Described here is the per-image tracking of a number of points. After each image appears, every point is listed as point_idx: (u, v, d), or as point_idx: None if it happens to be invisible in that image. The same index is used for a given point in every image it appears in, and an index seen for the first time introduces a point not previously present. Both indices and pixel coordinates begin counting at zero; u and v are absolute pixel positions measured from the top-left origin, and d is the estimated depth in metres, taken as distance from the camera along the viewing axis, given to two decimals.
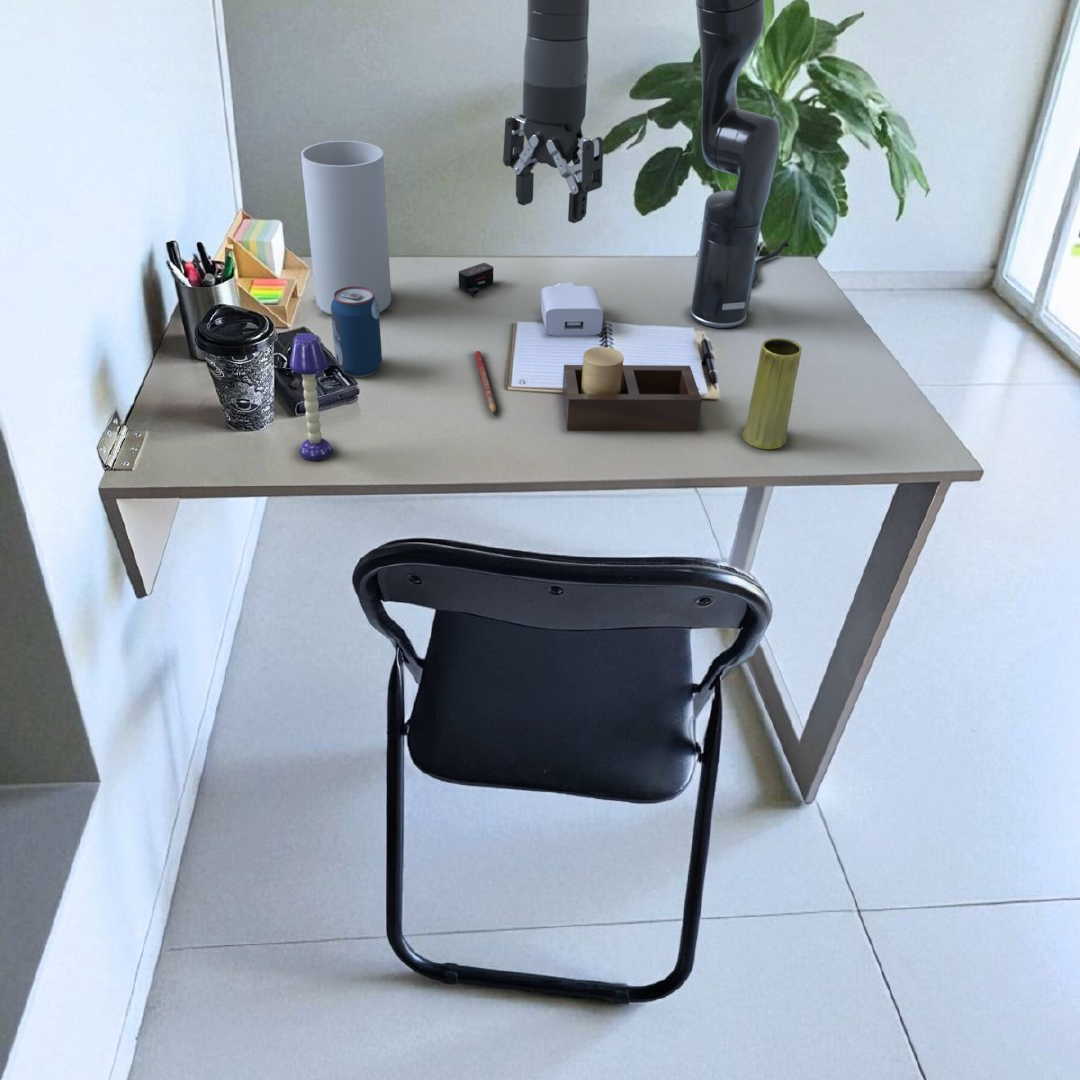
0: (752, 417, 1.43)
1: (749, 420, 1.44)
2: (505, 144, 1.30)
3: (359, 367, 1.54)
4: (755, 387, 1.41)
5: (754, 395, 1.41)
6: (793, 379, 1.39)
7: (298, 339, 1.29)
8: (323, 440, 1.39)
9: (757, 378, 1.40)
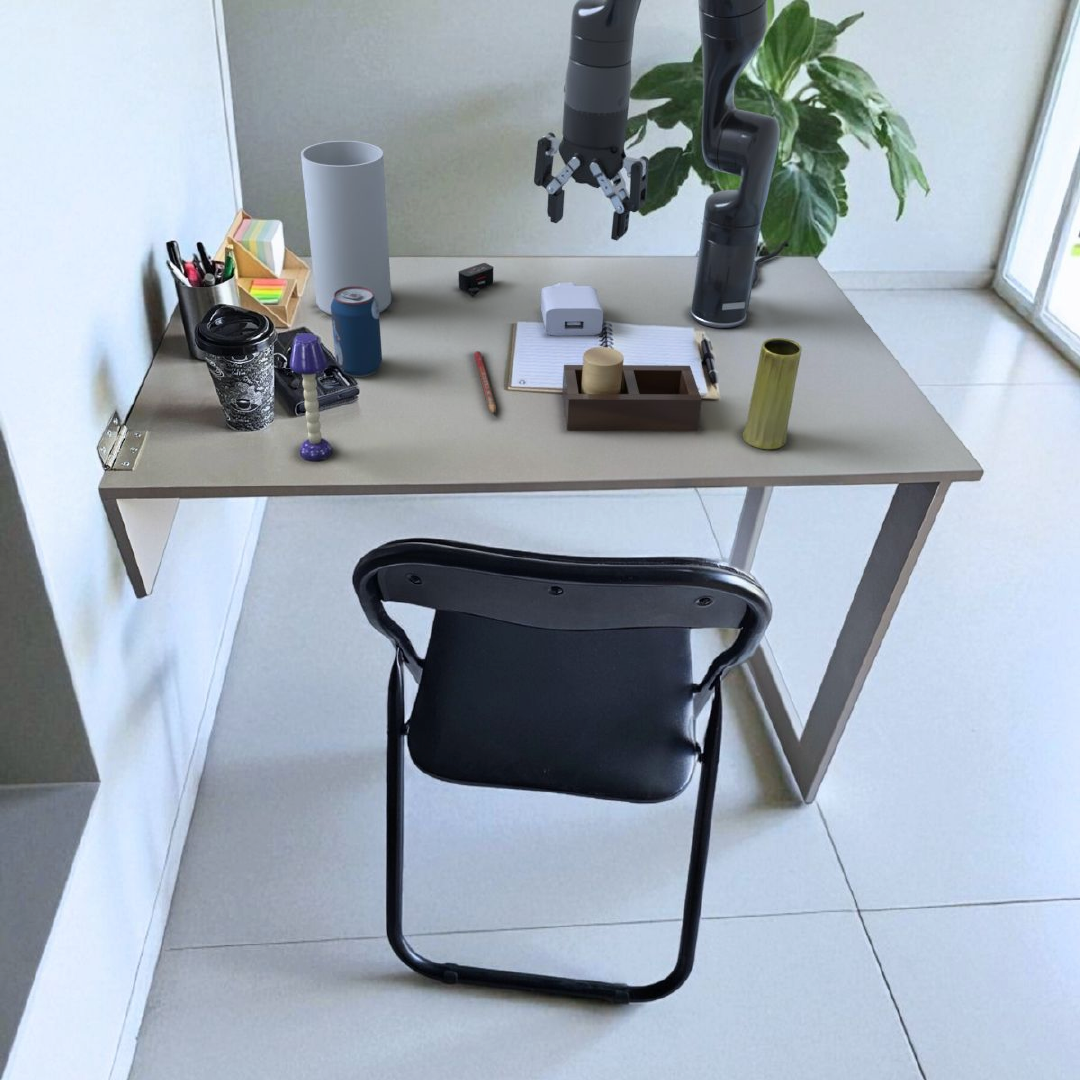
0: (752, 417, 1.43)
1: (749, 420, 1.44)
2: (537, 164, 1.28)
3: (359, 367, 1.54)
4: (755, 387, 1.41)
5: (754, 395, 1.41)
6: (793, 379, 1.39)
7: (298, 339, 1.29)
8: (323, 440, 1.39)
9: (757, 378, 1.40)
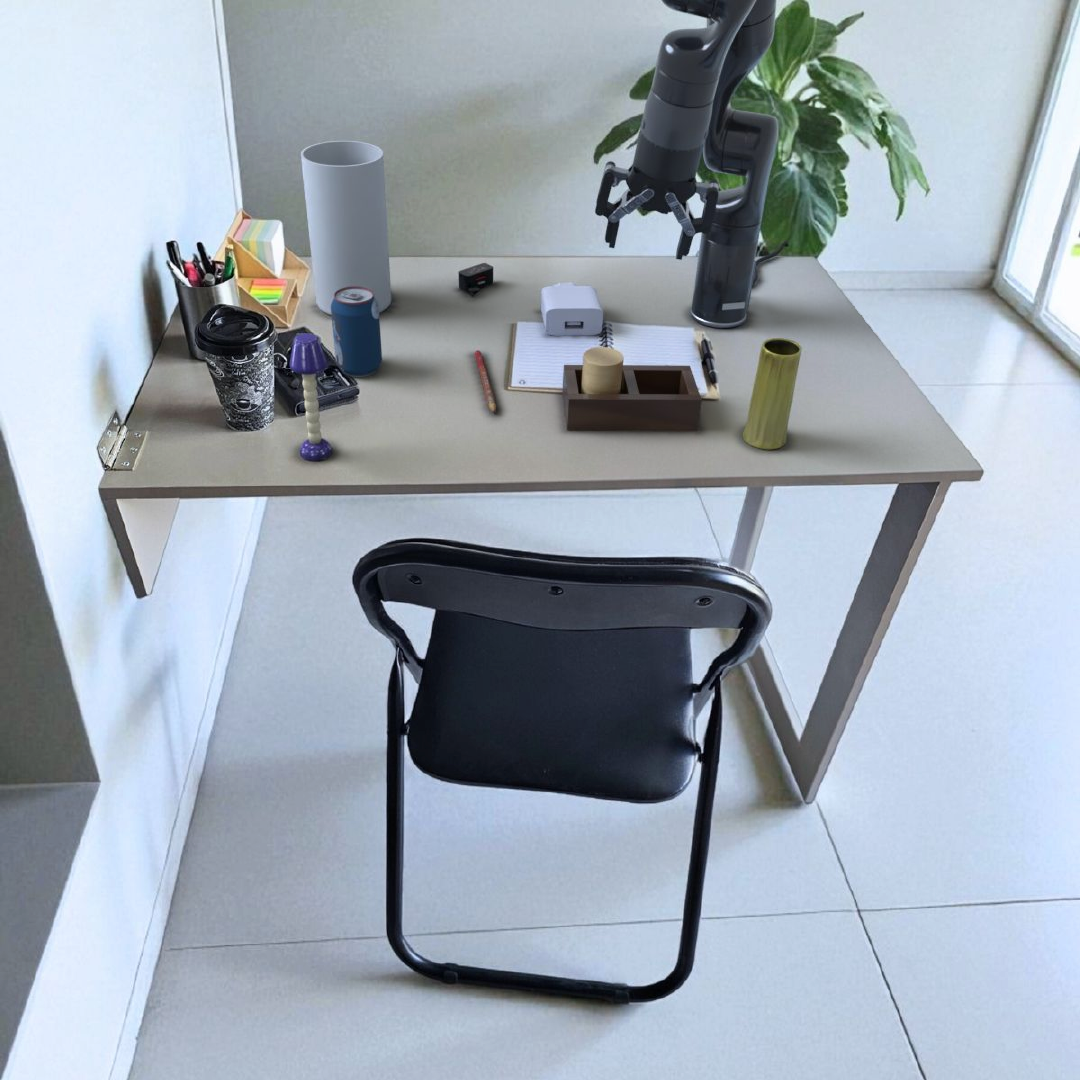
0: (752, 417, 1.43)
1: (749, 420, 1.44)
2: (601, 196, 1.25)
3: (359, 367, 1.54)
4: (755, 387, 1.41)
5: (754, 395, 1.41)
6: (793, 379, 1.39)
7: (298, 339, 1.29)
8: (323, 440, 1.39)
9: (757, 378, 1.40)
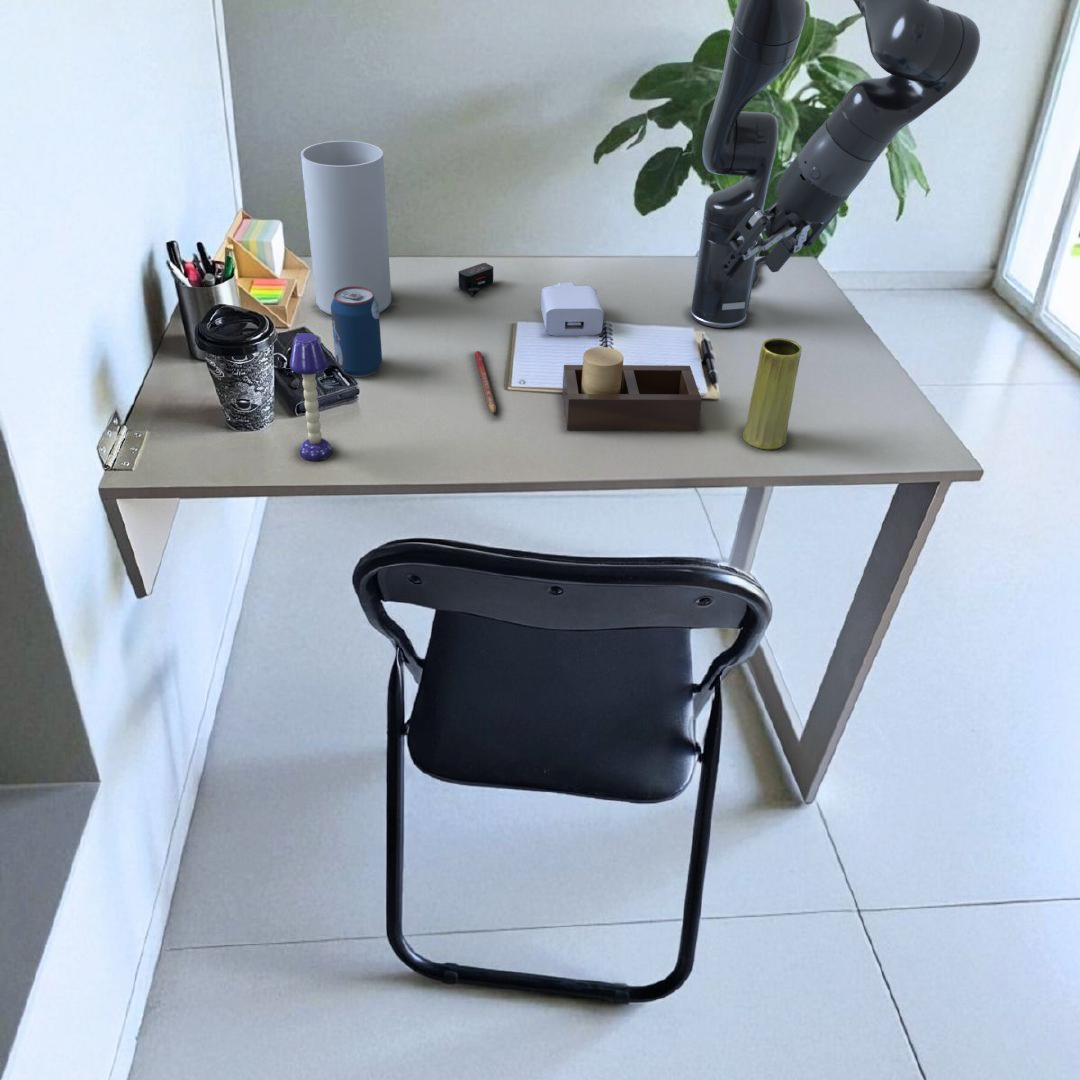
0: (752, 417, 1.43)
1: (749, 420, 1.44)
2: (749, 241, 1.21)
3: (359, 367, 1.54)
4: (755, 387, 1.41)
5: (754, 395, 1.41)
6: (793, 379, 1.39)
7: (298, 339, 1.29)
8: (323, 440, 1.39)
9: (757, 378, 1.40)
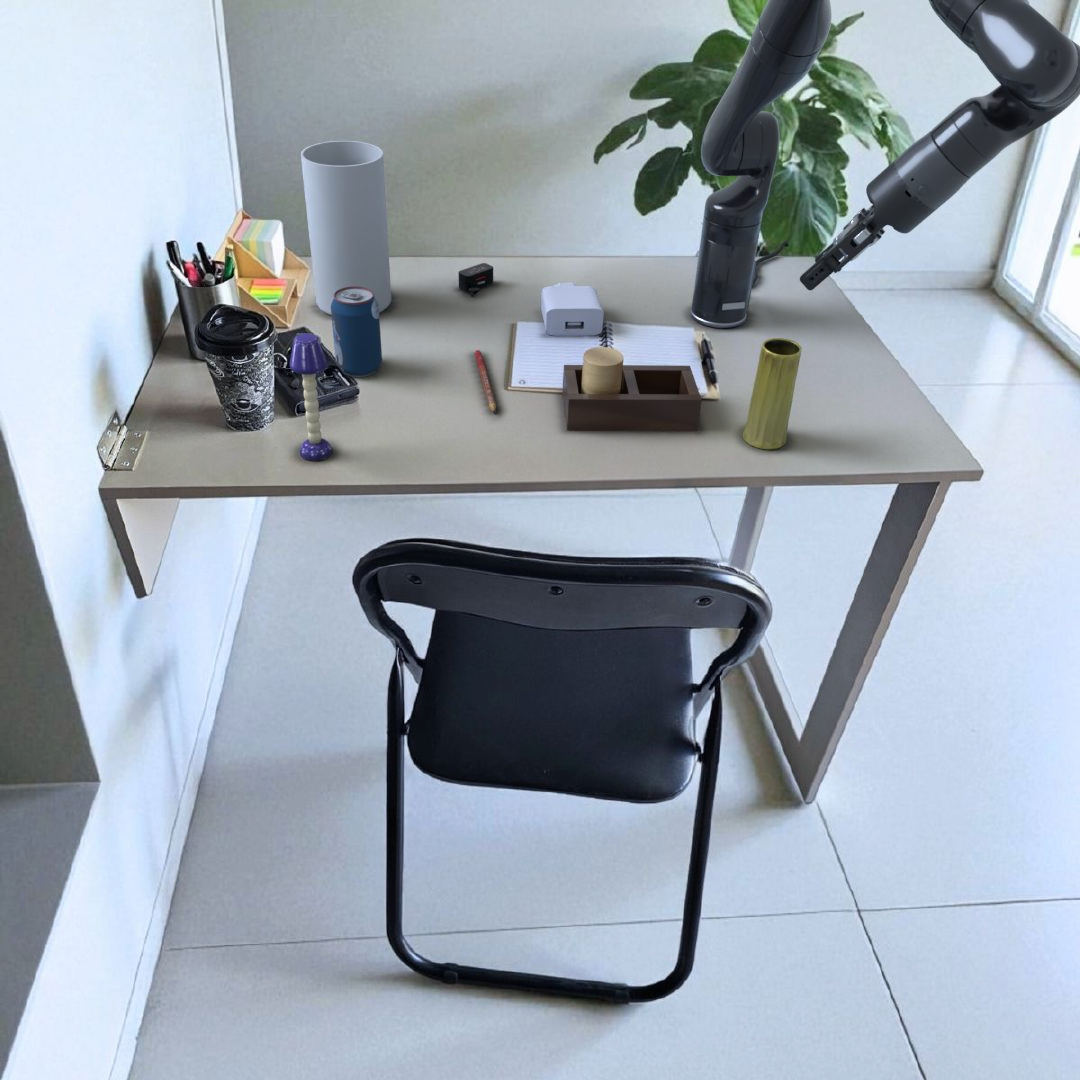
0: (752, 417, 1.43)
1: (749, 420, 1.44)
2: (852, 258, 1.21)
3: (359, 367, 1.54)
4: (755, 387, 1.41)
5: (754, 395, 1.41)
6: (793, 379, 1.39)
7: (298, 339, 1.29)
8: (323, 440, 1.39)
9: (757, 378, 1.40)
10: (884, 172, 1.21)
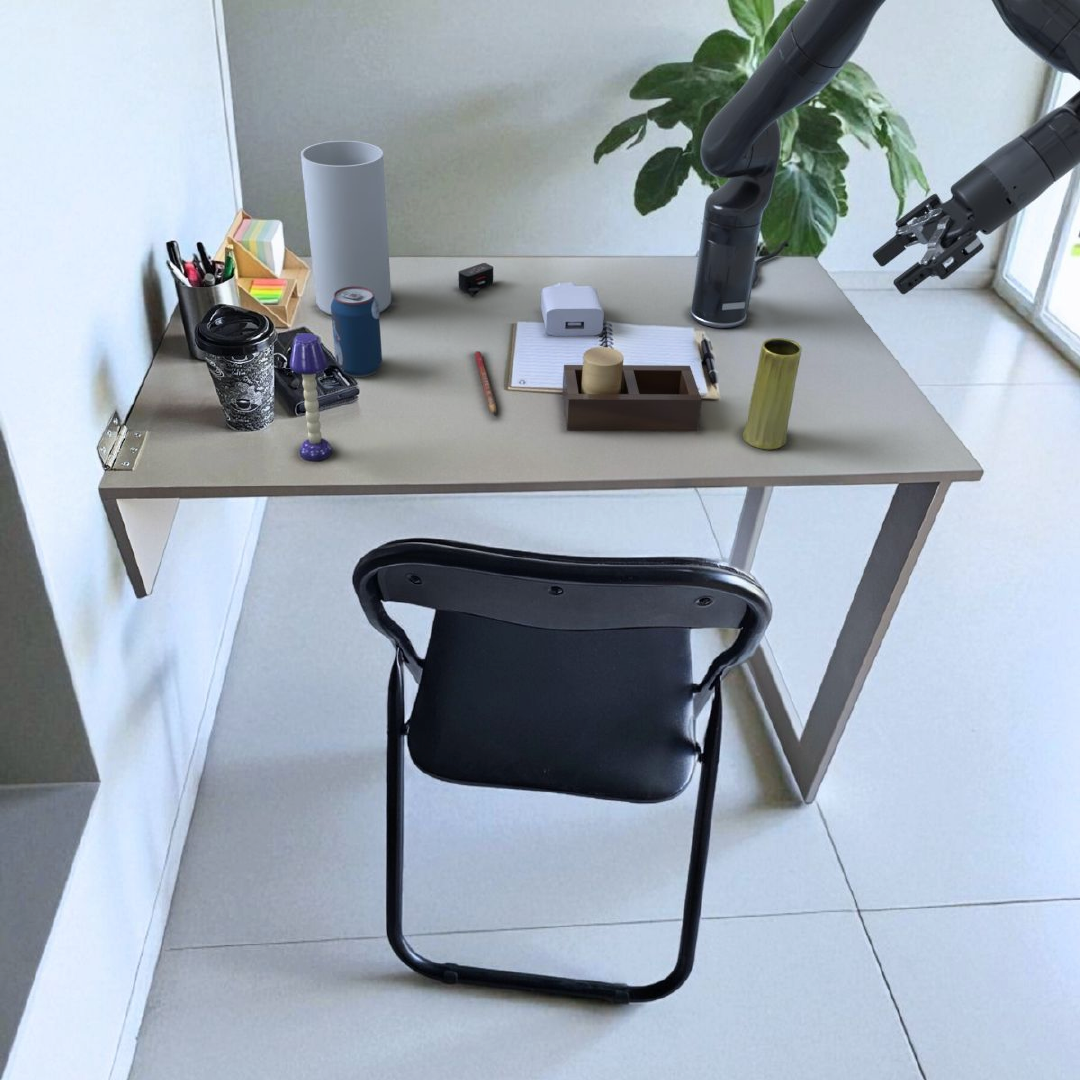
0: (752, 417, 1.43)
1: (749, 420, 1.44)
2: None
3: (359, 367, 1.54)
4: (755, 387, 1.41)
5: (754, 395, 1.41)
6: (793, 379, 1.39)
7: (298, 339, 1.29)
8: (323, 440, 1.39)
9: (757, 378, 1.40)
10: (978, 178, 1.24)
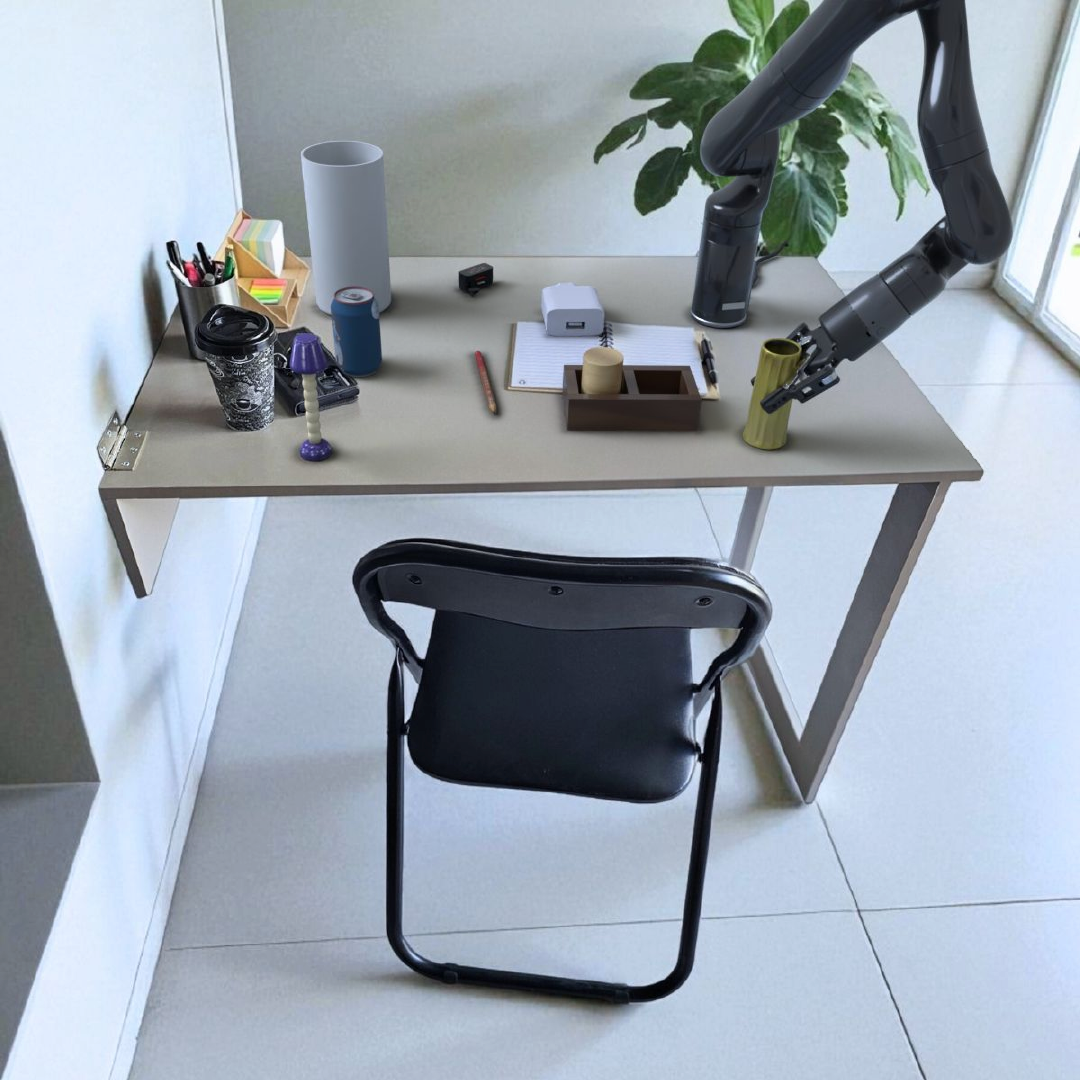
0: (752, 417, 1.43)
1: (749, 420, 1.44)
2: None
3: (359, 367, 1.54)
4: (755, 387, 1.41)
5: (754, 395, 1.41)
6: None
7: (298, 339, 1.29)
8: (323, 440, 1.39)
9: (757, 378, 1.40)
10: (841, 312, 1.34)
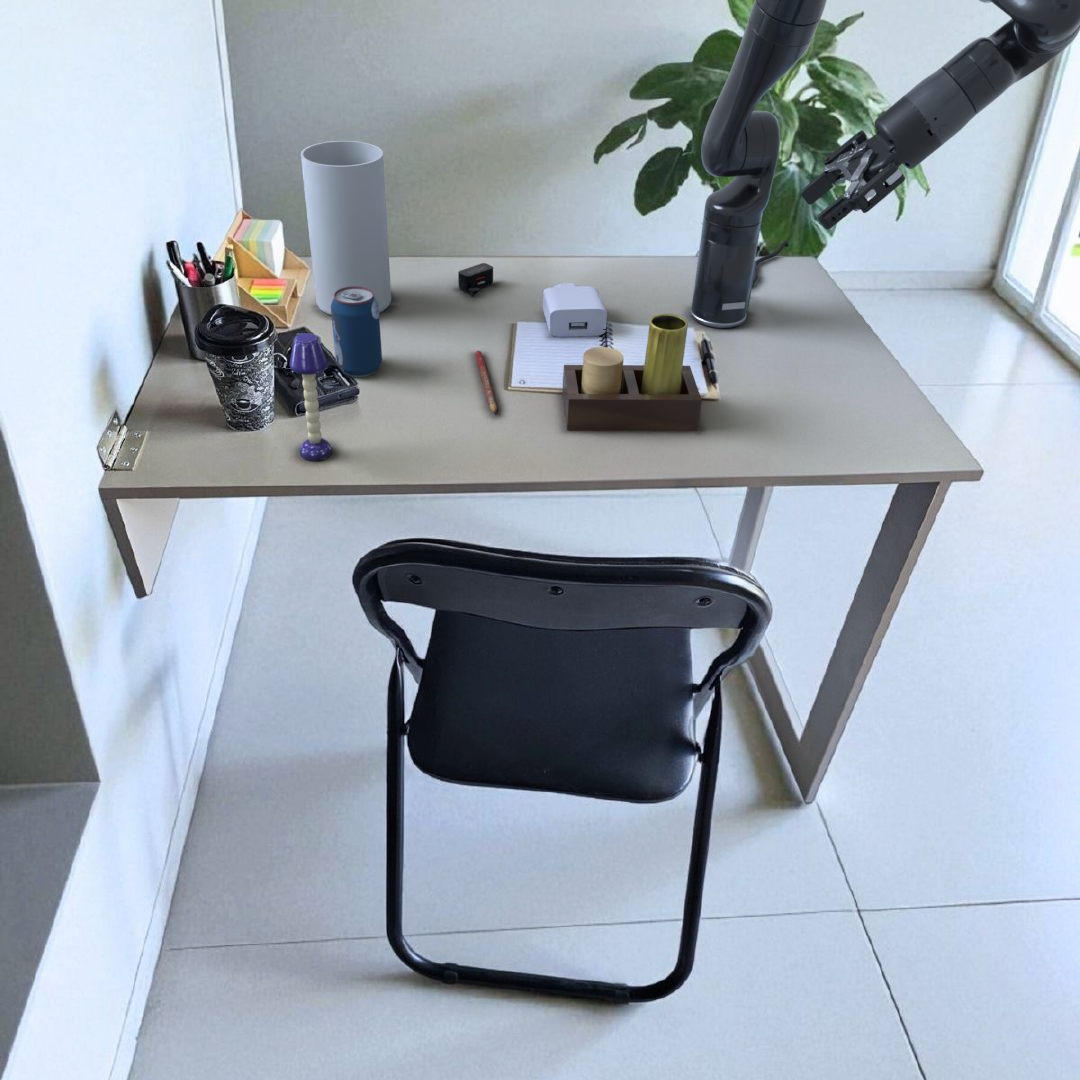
0: (644, 391, 1.48)
1: None
2: None
3: (359, 367, 1.54)
4: (645, 362, 1.46)
5: (645, 369, 1.46)
6: (680, 353, 1.43)
7: (298, 339, 1.29)
8: (323, 440, 1.39)
9: (646, 353, 1.45)
10: (900, 110, 1.23)
